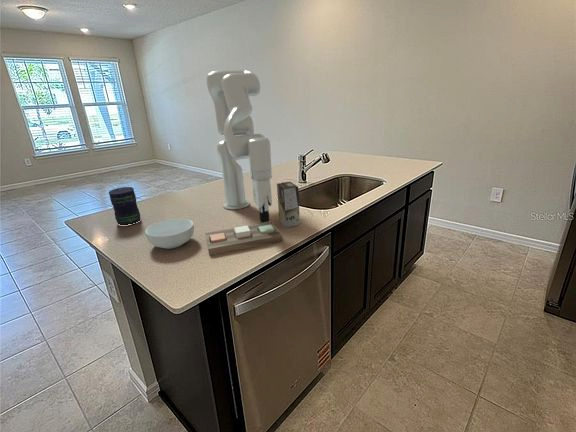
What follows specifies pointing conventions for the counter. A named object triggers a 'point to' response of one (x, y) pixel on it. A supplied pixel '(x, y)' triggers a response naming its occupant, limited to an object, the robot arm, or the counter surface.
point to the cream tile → (242, 232)
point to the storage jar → (125, 205)
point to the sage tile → (265, 229)
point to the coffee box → (288, 204)
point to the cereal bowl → (170, 233)
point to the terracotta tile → (217, 237)
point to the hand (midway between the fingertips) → (264, 221)
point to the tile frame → (242, 239)
